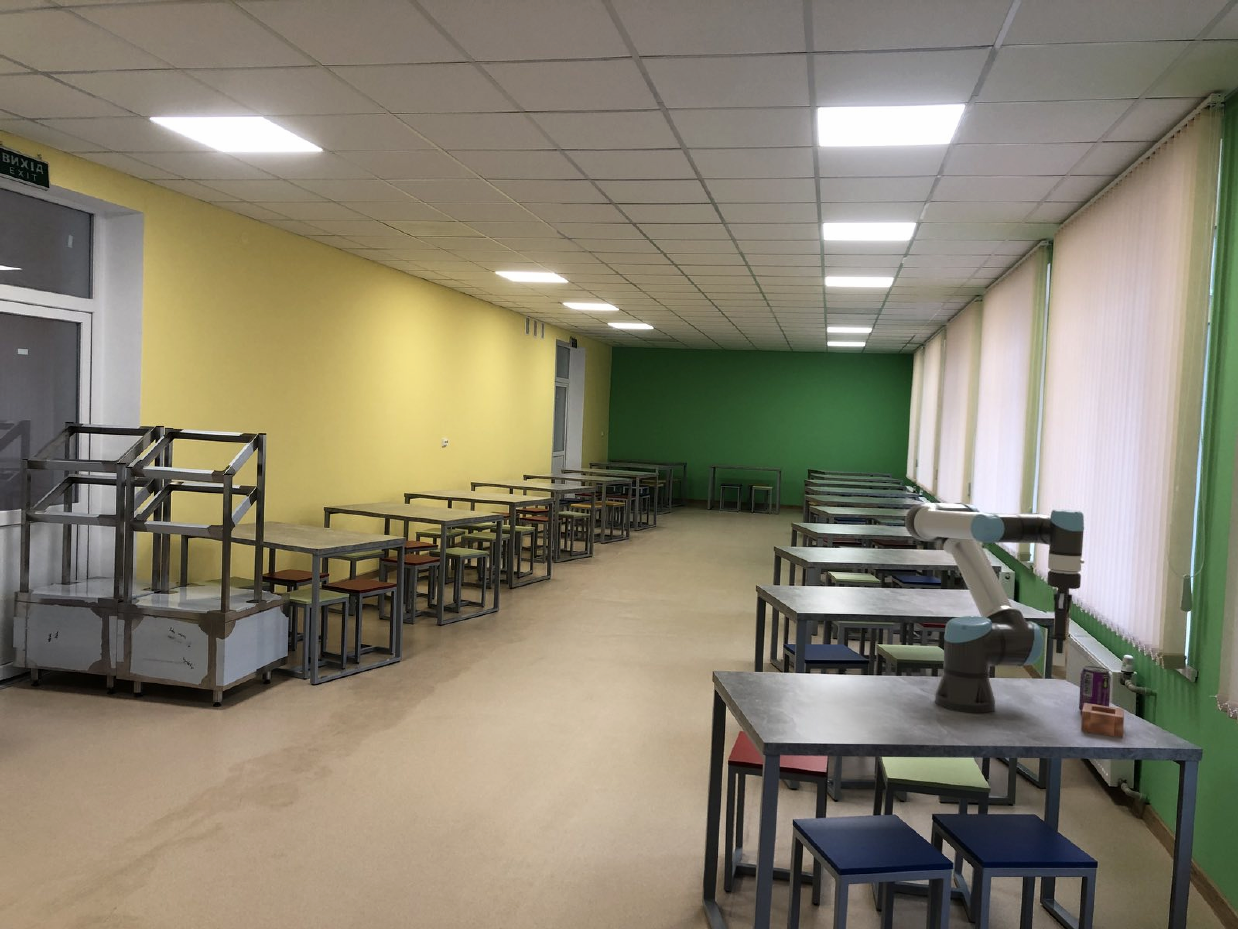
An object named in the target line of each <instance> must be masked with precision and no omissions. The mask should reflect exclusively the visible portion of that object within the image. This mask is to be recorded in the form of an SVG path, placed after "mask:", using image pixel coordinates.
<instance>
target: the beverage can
mask: <svg viewBox="0 0 1238 929" xmlns="http://www.w3.org/2000/svg"><path fill="white" fill-rule="evenodd" d="M1109 672H1110V670H1109V669H1108V668H1107V667H1102V666H1096V665H1095V666H1094V665H1085V666H1082V671H1081V672H1080V679H1079V680H1080V682H1079V684H1080V685H1079V698H1078V699H1079V701H1078V702H1079V703H1078V709H1079V710H1080V711H1081V712H1082V710H1083V706H1084V703H1089V704H1096V705H1102V706H1109V707H1110V700H1111V697H1110V696H1111V675H1110V673H1109Z"/></svg>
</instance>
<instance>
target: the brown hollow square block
mask: <svg viewBox="0 0 1238 929" xmlns="http://www.w3.org/2000/svg"><path fill="white" fill-rule="evenodd" d="M1124 723H1125V708H1121V707H1115V706H1114V707H1113V706H1110V705H1109V706H1102V705H1096V704H1089V703H1084V706H1083V710H1082V711H1081V725H1080V726H1081V728H1080V729H1081V730H1080V731H1081V732H1085V733H1090V734H1097V735H1103V736H1110V737H1114V736H1116V738H1121V739H1123V736H1124V725H1125V724H1124Z"/></svg>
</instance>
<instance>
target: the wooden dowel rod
mask: <svg viewBox="0 0 1238 929" xmlns="http://www.w3.org/2000/svg"><path fill="white" fill-rule="evenodd" d="M1053 615H1054V617H1055V614H1053ZM1070 618H1071V610H1070V611H1069V613H1067V623H1066V653H1065V667H1064V666H1057V665H1053V654H1052V655H1051V656H1052V657H1051V658H1052V659H1051V677H1050V678H1051V679H1054V680H1060V681H1062V680H1063V681H1065V680H1067V670H1068V651H1069V638H1070V637H1069V634H1070ZM1053 620H1054V622H1053V628H1054V627H1055V618H1054V619H1053ZM1052 641H1053V642H1052V650H1053V649H1054V639H1052Z"/></svg>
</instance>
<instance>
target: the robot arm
mask: <svg viewBox="0 0 1238 929" xmlns="http://www.w3.org/2000/svg"><path fill="white" fill-rule="evenodd" d="M1084 518H1085V516H1084V514H1083V512H1082V511H1080V510H1072V509H1060V508H1059V509H1052V511H1051V514H1050V515H1046V514H1040V513H1039V512H1038V513H1036V512H1034V513H1033V512H1026V513H995V512H980V510H979V509H978V508H977V507H975V506H974V505H972V504H970V503H969V504H968V503H962V502H955V503H949V502H948V503H947V502H945V503H944V502H941V503H940V502H922V503H917V504H916V505H913V506H912V507H911V508H910V509H909V510H908V511H907V512H906V515H905V517H904V526H905V529H906V531H907V532H908V533H909V534H908V535H911V537H913V538H914V539H916V540H919V541H924V542H935V543H937V542H939V543H940V544H941V545H942V549H943V550H944V552H946V553H947V554H950V555H952V557H953V559H954V561H955V564H956V565H957V568H958V570H959V572H960V574H961V576H962V578H963V581H964V582H965V585H966V587H967V589H968V591H969V594H970V595H971V599H972V600H973V601H974V605H975V606H976V609H977V610H978V612H979V614H980V616H979V615H978V616H976V615H975V616H973V615H972V616H971V615H965V616H957V617H953V618H951V619H949V620H948V621H947V622H946V624H945V628H944V630H945V631H944V635H943V639H944V646H943V648H944V649H943V669H942V672H943V673H942V675H941V676H942V677H941V678H940V681H939V683H938V686H937V689H936V691H935V693H934V694H935V695H934V702H935V703H936V704H937V705H938V706H940V707H943V708H946V709H949V710H954V711H957V712H958V711H959V712H965V713H974V714H975V713H977V714H978V713H981V714H982V713H990V712H994V710H995V709H996V699H995V695H994V691H993V689H992V685H991V681H990V670H991V669H990V667H1007V666H1008V667H1011V666H1013V667H1014V666H1016V667H1022V666H1031V665H1032V664H1035V663H1036V662H1037V661H1039V659H1040V657H1041V656H1042V653H1043V649H1044V636H1043V633H1042V630H1041V628H1040V626H1039V625H1038V624H1037V623H1036V622H1033V621H1030V620H1029V621H1027V620H1026V619H1025V617H1024V614H1023V613H1022V611H1021V610H1019V609H1017V608H1014V607H1013V606H1012V603H1011V602H1010V599H1009V598H1008V596H1007V594H1006V592H1005V590H1004V588H1003V586H1002V584H1001V582H1000V580H999V578H998V576H997V574H996V572H995V571H994V568H993V566H992V564H991V562H990V559H989V558H988V556H987V554H986V552H985V550H984V548H983V545H982V543H986V544H994V543H995V544H996V543H997V544H998V543H999V544H1000V543H1005V544H1006V543H1012V544H1015V543H1017V544H1040V545H1048V546H1049V547H1048V549H1049V550H1048V555H1047V556H1048V557H1047V558H1048V560H1047V568H1048V569H1049V570H1048V571H1047V582H1046V584H1047V585H1048V586H1049V587H1052V588H1056V589H1057V592H1055V593H1054V594H1053V601H1054V605H1053V606H1054V608H1053V610H1054V611H1053V612H1054V615H1055V616H1054V619H1055V627H1054V626H1053V636H1050V639H1051V640H1053V639H1054V649H1053V648H1052V655H1053V665H1057V666H1064V667H1065V653H1066V623H1067V613H1069V611H1070V612H1071V608H1072V606H1071V605H1072V600H1073V594H1072V593H1071V594H1070V590H1077V589H1080V588H1081V580H1082V575H1081V573H1080V572H1081V571H1082V565H1083V564H1085V559H1082V556H1083V547H1084V532H1085V531H1084V530H1085V527H1084V526H1085V523H1084V522H1085V520H1084ZM1068 638H1071V633H1069V637H1068Z"/></svg>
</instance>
